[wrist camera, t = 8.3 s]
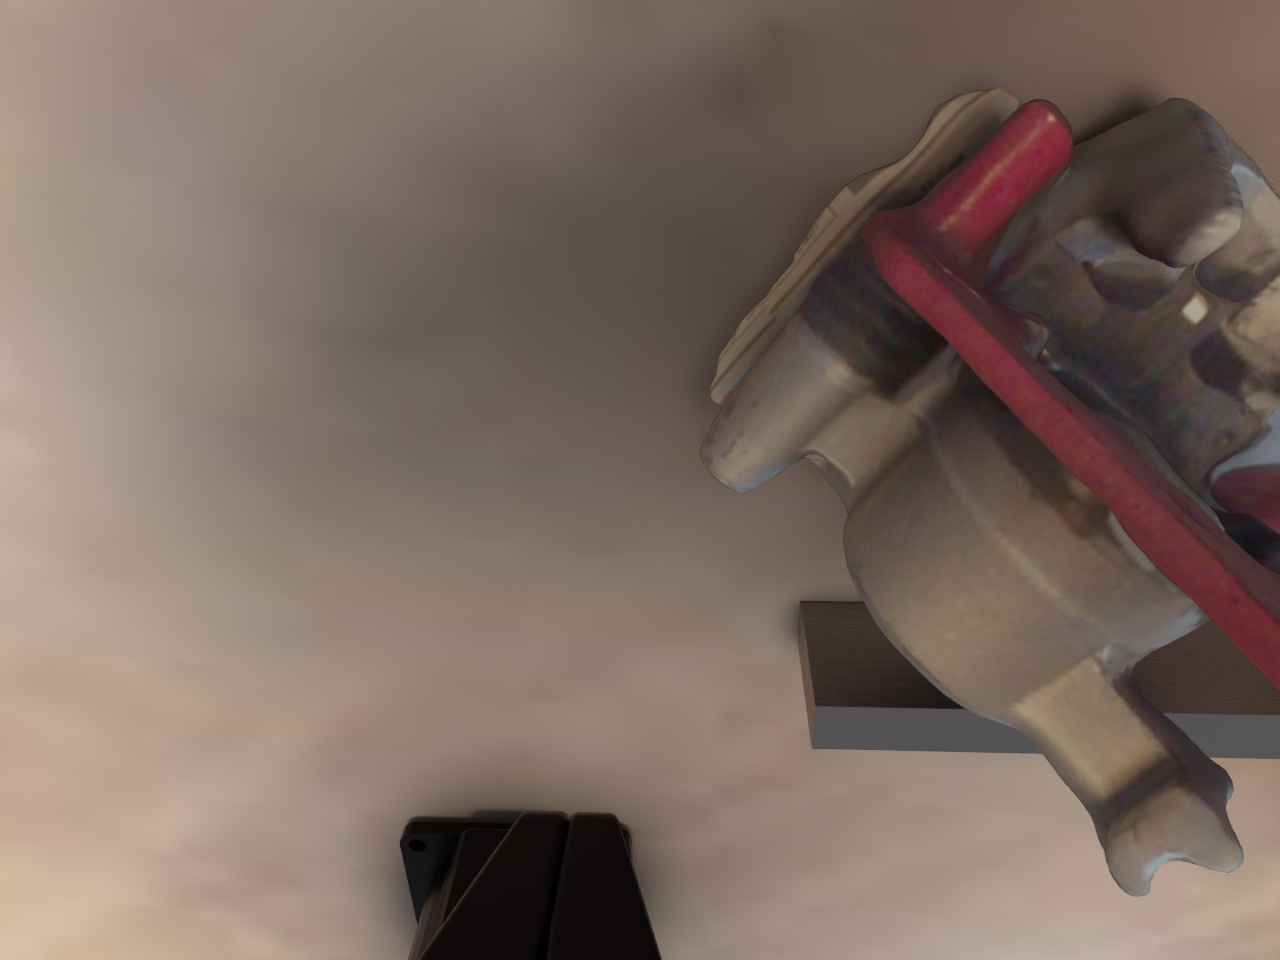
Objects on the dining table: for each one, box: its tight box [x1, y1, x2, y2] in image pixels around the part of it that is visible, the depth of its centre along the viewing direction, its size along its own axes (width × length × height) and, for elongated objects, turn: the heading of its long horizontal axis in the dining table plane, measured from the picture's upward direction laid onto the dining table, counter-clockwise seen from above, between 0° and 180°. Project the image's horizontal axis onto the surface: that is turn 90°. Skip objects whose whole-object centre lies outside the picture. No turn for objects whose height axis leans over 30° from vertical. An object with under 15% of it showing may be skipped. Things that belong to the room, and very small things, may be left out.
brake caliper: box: [700, 88, 1280, 897], centre depth 17 cm, size 11×11×12 cm
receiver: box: [798, 602, 1280, 759], centre depth 18 cm, size 16×14×4 cm
